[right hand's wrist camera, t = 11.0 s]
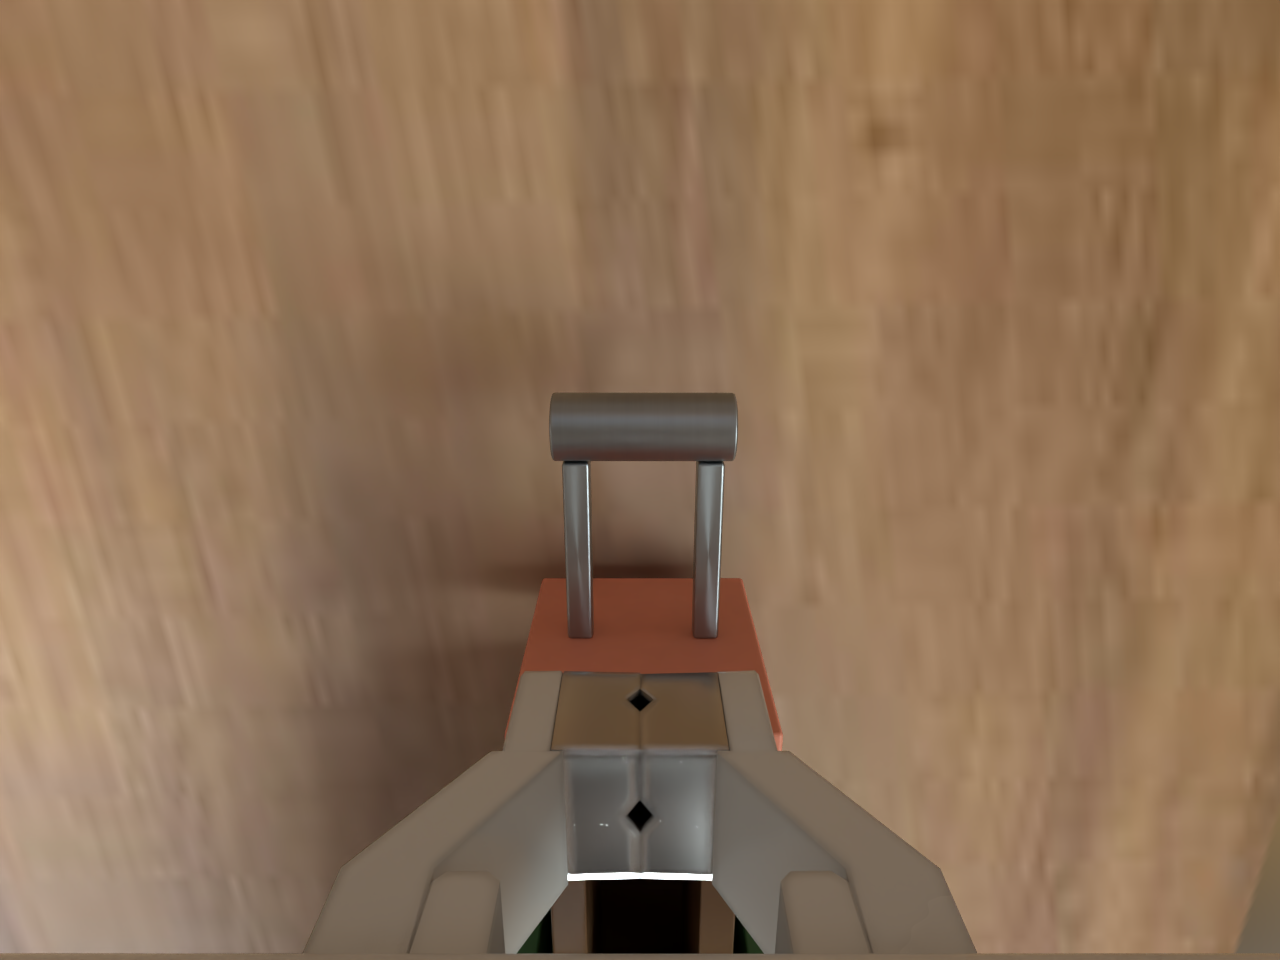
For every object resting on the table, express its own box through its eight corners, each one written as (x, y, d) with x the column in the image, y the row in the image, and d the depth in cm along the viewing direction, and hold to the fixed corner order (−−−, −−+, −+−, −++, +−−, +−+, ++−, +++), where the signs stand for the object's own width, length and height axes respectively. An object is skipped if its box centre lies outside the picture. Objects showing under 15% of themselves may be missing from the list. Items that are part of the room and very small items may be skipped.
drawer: (532, 364, 20) (483, 448, 14) (753, 365, 20) (805, 448, 14) (562, 1037, 29) (541, 1283, 22) (719, 1037, 29) (742, 1283, 22)
